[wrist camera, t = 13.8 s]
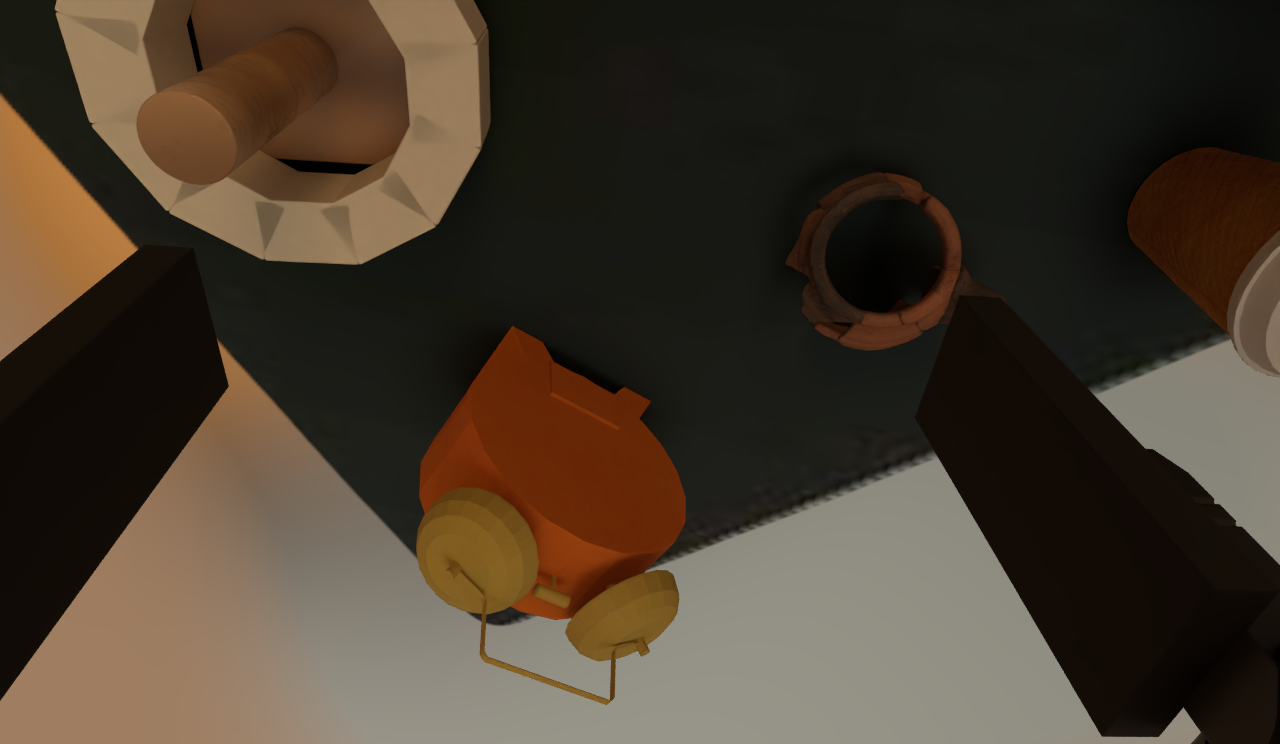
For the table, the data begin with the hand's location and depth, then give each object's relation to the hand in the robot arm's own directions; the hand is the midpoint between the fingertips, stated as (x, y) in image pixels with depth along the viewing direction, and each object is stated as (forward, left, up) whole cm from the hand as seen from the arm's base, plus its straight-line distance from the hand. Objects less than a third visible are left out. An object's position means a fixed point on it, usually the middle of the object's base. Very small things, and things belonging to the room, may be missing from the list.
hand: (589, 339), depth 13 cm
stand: (+10, -8, -27) cm, 30 cm away
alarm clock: (+15, +14, -27) cm, 34 cm away
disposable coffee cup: (-20, +28, -27) cm, 44 cm away
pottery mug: (-5, +19, -27) cm, 33 cm away
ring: (+10, -8, -25) cm, 28 cm away
